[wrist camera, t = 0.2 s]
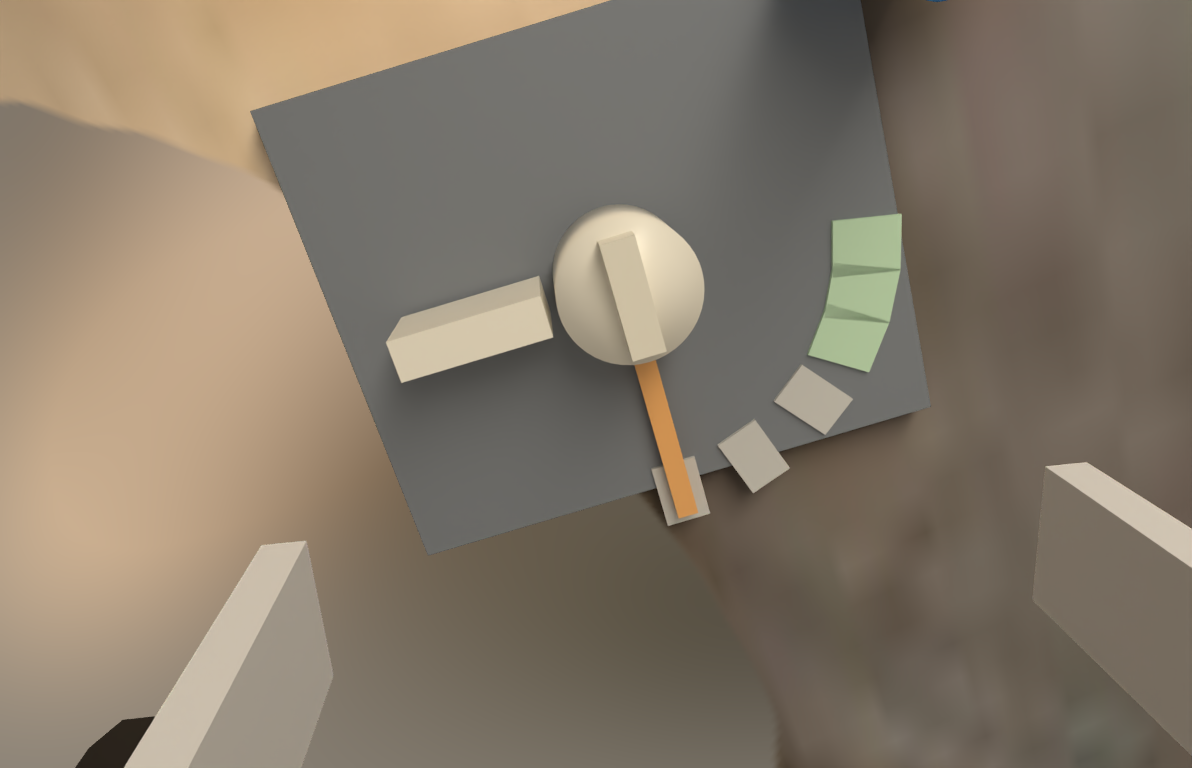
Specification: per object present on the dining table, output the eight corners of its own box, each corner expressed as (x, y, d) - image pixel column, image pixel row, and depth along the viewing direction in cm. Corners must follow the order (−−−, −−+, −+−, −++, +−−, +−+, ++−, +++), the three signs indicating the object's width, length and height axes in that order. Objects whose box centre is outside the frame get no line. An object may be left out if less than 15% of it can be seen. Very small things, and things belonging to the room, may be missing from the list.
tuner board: (260, 111, 37) (248, 111, 36) (838, -67, 37) (852, -75, 35) (444, 575, 45) (441, 592, 43) (926, 433, 44) (941, 445, 43)
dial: (386, 272, 38) (359, 301, 32) (664, 187, 38) (689, 201, 32) (495, 563, 43) (489, 635, 37) (742, 490, 43) (776, 551, 37)
